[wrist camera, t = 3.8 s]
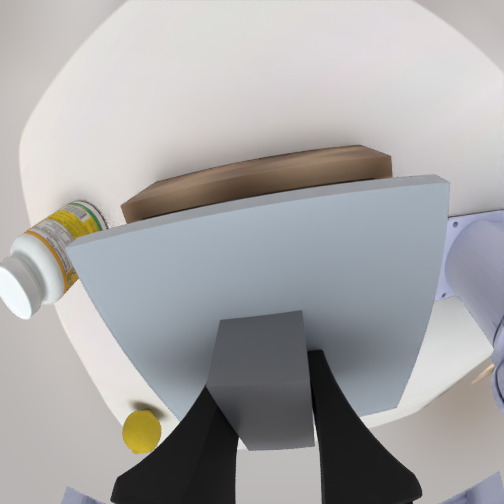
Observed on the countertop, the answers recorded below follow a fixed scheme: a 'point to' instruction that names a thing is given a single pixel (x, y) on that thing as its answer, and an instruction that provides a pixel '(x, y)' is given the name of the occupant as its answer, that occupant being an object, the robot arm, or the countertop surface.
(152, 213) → the box
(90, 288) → the lid
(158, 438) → the lemon
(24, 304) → the supplement bottle
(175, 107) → the countertop surface
